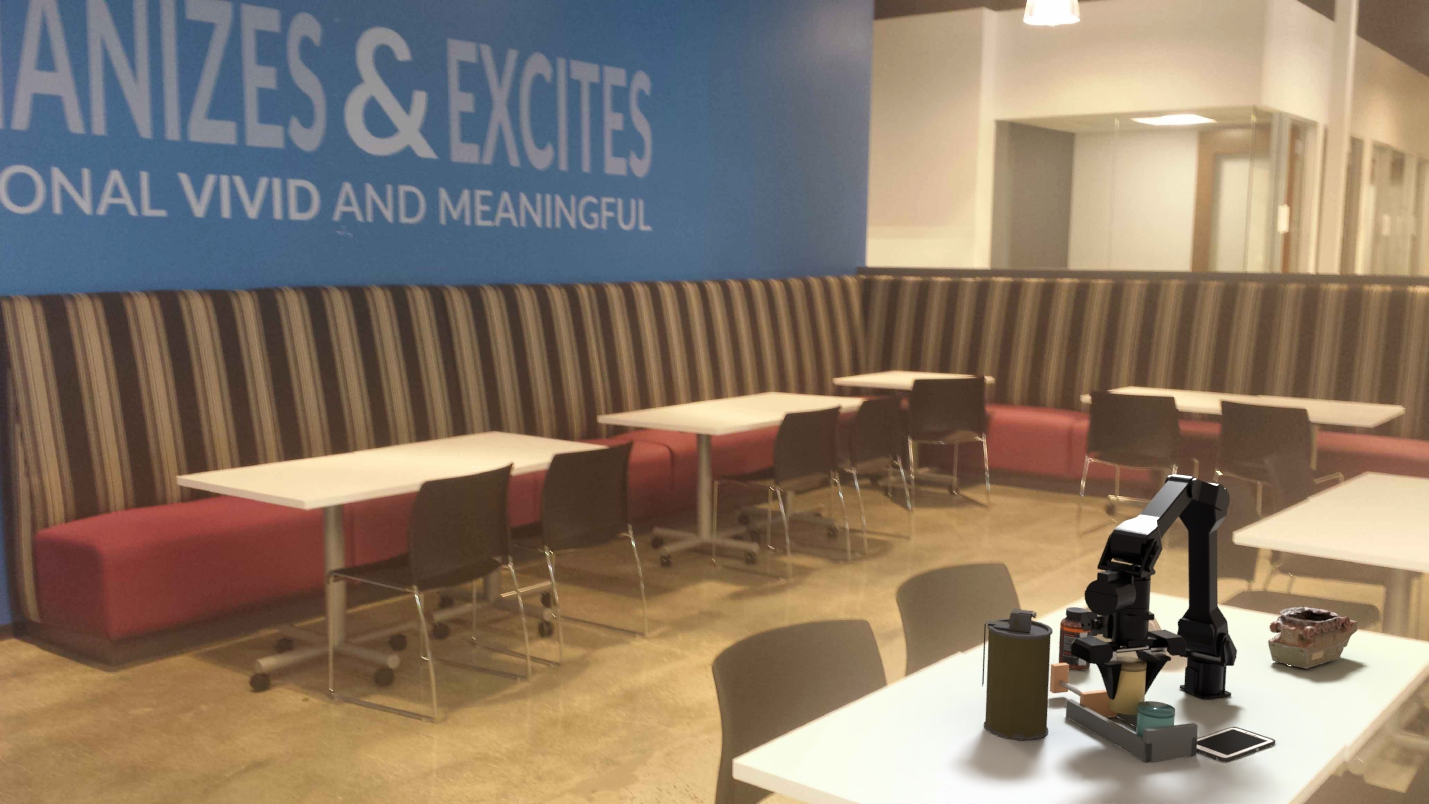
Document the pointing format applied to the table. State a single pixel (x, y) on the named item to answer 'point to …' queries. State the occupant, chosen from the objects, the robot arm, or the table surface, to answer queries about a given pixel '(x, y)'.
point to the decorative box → (1309, 636)
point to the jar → (1153, 715)
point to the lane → (1150, 747)
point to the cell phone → (1232, 744)
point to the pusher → (1079, 691)
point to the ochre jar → (1129, 686)
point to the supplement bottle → (1072, 638)
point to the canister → (1017, 676)
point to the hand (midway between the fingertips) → (1126, 697)
